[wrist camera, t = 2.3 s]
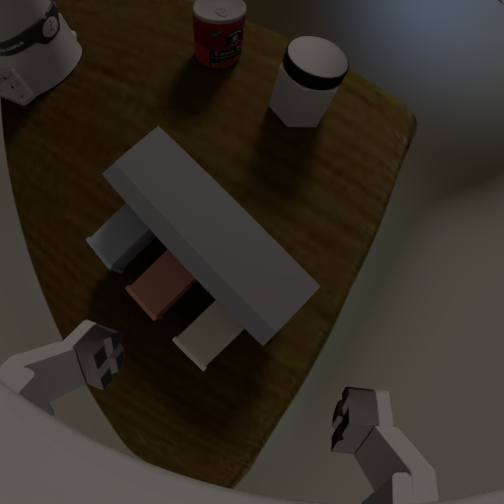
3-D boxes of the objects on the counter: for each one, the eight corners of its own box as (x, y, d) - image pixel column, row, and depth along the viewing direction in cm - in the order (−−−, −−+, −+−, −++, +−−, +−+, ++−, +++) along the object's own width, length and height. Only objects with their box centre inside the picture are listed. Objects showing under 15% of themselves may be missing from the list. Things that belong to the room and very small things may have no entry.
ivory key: (205, 363, 34) (203, 371, 29) (177, 335, 34) (171, 339, 29) (252, 317, 35) (256, 319, 31) (224, 289, 35) (225, 287, 31)
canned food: (213, 77, 43) (213, 27, 33) (185, 52, 44) (181, 4, 33) (250, 58, 45) (258, 10, 34) (222, 35, 45) (224, -12, 34)
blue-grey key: (121, 273, 34) (109, 269, 30) (99, 246, 34) (85, 239, 30) (167, 229, 36) (160, 219, 31) (144, 203, 36) (135, 191, 31)
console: (248, 332, 38) (262, 346, 25) (135, 212, 39) (101, 174, 26) (287, 292, 39) (320, 286, 26) (174, 177, 40) (158, 126, 27)
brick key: (161, 318, 34) (153, 320, 30) (135, 290, 34) (124, 288, 30) (208, 273, 35) (207, 268, 31) (182, 245, 35) (177, 237, 31)
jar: (319, 88, 45) (343, 39, 33) (330, 129, 44) (360, 82, 32) (265, 86, 44) (278, 32, 32) (272, 128, 43) (288, 76, 31)
